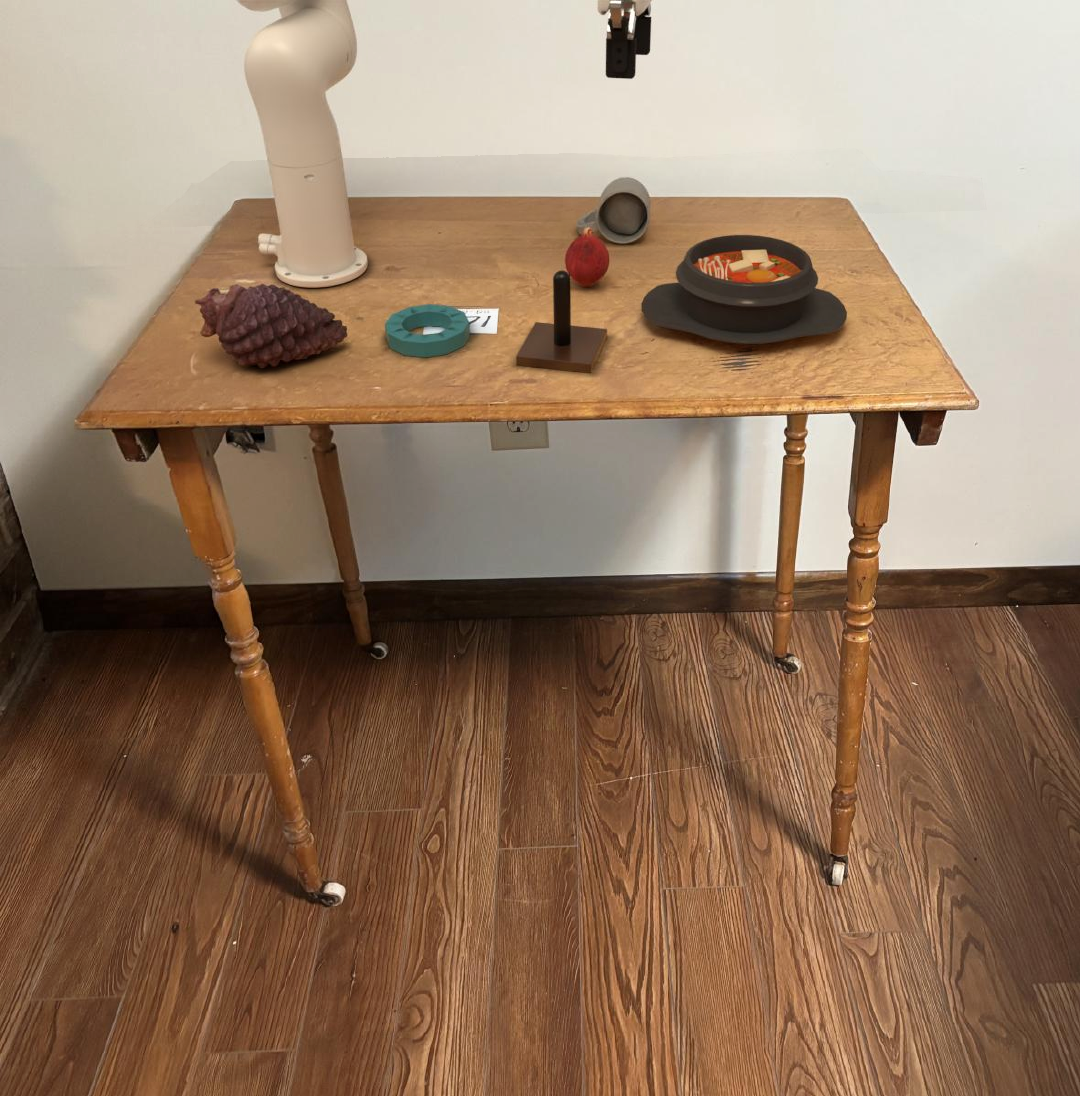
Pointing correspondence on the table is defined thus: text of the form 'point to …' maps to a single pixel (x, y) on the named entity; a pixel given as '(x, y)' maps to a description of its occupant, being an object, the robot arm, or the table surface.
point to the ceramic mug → (620, 212)
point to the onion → (587, 259)
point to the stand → (562, 337)
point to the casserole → (745, 293)
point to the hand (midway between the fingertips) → (628, 65)
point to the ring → (429, 343)
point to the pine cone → (268, 324)
